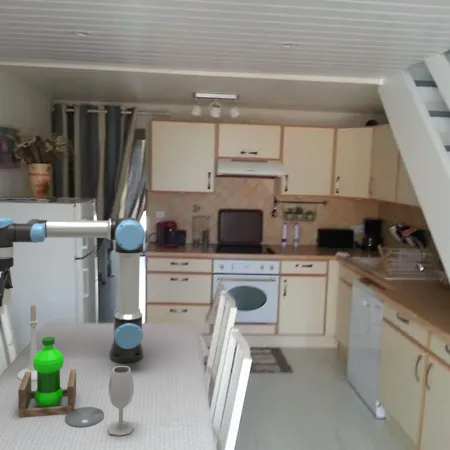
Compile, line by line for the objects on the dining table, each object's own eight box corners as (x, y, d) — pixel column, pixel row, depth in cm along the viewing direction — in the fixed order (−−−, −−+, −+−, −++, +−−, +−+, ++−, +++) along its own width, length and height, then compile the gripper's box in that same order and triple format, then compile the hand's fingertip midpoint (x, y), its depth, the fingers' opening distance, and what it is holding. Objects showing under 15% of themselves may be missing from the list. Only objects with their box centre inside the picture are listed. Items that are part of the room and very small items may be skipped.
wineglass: (109, 423, 169) (109, 363, 167) (135, 422, 170) (136, 364, 168) (105, 436, 161) (105, 374, 158) (132, 436, 161) (133, 374, 159)
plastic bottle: (40, 398, 185) (39, 333, 182) (68, 399, 185) (68, 334, 182) (28, 411, 175) (27, 343, 172) (58, 412, 175) (58, 344, 172)
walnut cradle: (76, 394, 189) (76, 369, 188) (73, 413, 175) (73, 386, 174) (25, 397, 185) (25, 371, 184) (18, 417, 171) (18, 389, 169)
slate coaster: (104, 407, 180) (104, 405, 180) (103, 425, 167) (103, 423, 167) (66, 409, 177) (66, 408, 177) (63, 428, 164) (63, 427, 164)
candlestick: (16, 370, 208) (15, 301, 205) (49, 366, 213) (48, 298, 210) (17, 383, 197) (16, 309, 193) (51, 378, 202) (51, 307, 198)
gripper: (-1, 251, 208) (0, 300, 211) (-15, 263, 184) (-14, 318, 187) (18, 251, 210) (19, 300, 213) (7, 263, 186) (8, 318, 188)
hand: (4, 309), depth 200 cm, fingers open, 13 cm apart
